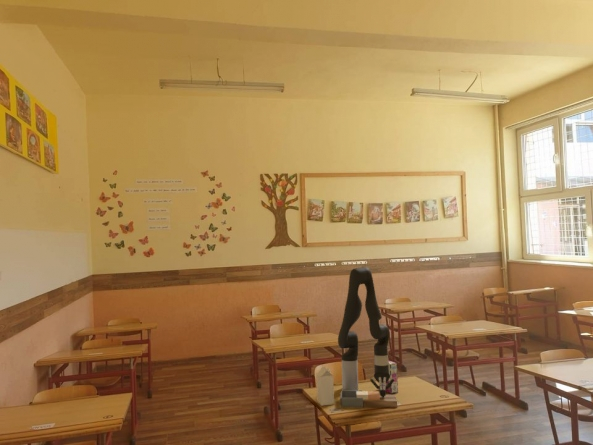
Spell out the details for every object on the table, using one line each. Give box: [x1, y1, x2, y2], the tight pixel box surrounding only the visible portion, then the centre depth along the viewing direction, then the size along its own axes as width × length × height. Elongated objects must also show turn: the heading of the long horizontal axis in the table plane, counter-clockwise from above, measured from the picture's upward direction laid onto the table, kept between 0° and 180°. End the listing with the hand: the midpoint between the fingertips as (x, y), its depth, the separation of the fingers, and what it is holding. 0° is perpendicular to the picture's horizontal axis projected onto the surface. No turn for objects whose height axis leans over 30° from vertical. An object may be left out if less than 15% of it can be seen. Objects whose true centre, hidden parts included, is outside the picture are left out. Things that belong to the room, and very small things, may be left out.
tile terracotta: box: [368, 390, 380, 400], centre depth 242 cm, size 6×6×2 cm
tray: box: [339, 389, 364, 409], centre depth 244 cm, size 13×12×5 cm
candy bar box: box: [382, 360, 399, 395], centre depth 264 cm, size 11×5×16 cm, turn 25°
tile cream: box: [356, 390, 368, 400], centre depth 243 cm, size 6×6×2 cm
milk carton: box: [316, 365, 335, 407], centre depth 245 cm, size 7×7×19 cm
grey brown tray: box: [363, 394, 398, 408], centre depth 242 cm, size 11×17×3 cm, turn 83°
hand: (382, 396), depth 242 cm, fingers closed
